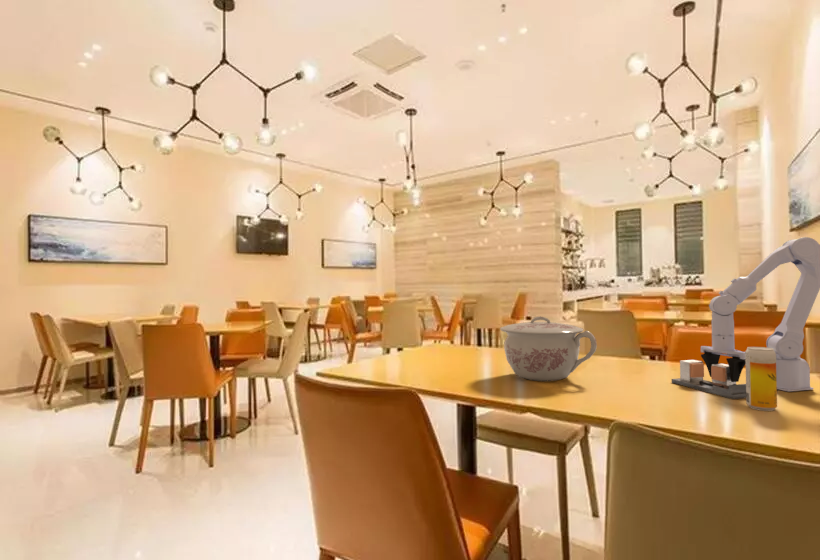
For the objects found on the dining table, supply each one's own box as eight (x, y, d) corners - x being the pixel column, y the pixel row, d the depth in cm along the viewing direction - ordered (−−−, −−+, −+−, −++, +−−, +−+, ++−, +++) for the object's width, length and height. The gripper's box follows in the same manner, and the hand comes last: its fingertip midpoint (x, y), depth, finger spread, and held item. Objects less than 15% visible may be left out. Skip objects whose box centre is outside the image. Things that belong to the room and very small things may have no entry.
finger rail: (671, 382, 142) (671, 359, 142) (692, 381, 144) (692, 358, 144) (733, 399, 121) (732, 372, 122) (757, 397, 123) (756, 370, 123)
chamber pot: (486, 372, 162) (485, 315, 163) (552, 367, 171) (551, 312, 171) (529, 390, 136) (528, 321, 136) (604, 382, 144) (603, 317, 144)
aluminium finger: (721, 382, 141) (721, 363, 141) (736, 386, 137) (735, 366, 137) (710, 383, 140) (709, 364, 140) (724, 387, 136) (724, 367, 136)
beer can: (782, 412, 109) (781, 350, 110) (754, 411, 111) (753, 349, 111) (768, 405, 115) (767, 346, 115) (741, 404, 117) (740, 346, 117)
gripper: (692, 333, 145) (693, 375, 145) (734, 338, 131) (735, 385, 131) (710, 332, 146) (711, 373, 146) (753, 337, 132) (754, 383, 132)
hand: (723, 379), depth 139 cm, fingers open, 7 cm apart
